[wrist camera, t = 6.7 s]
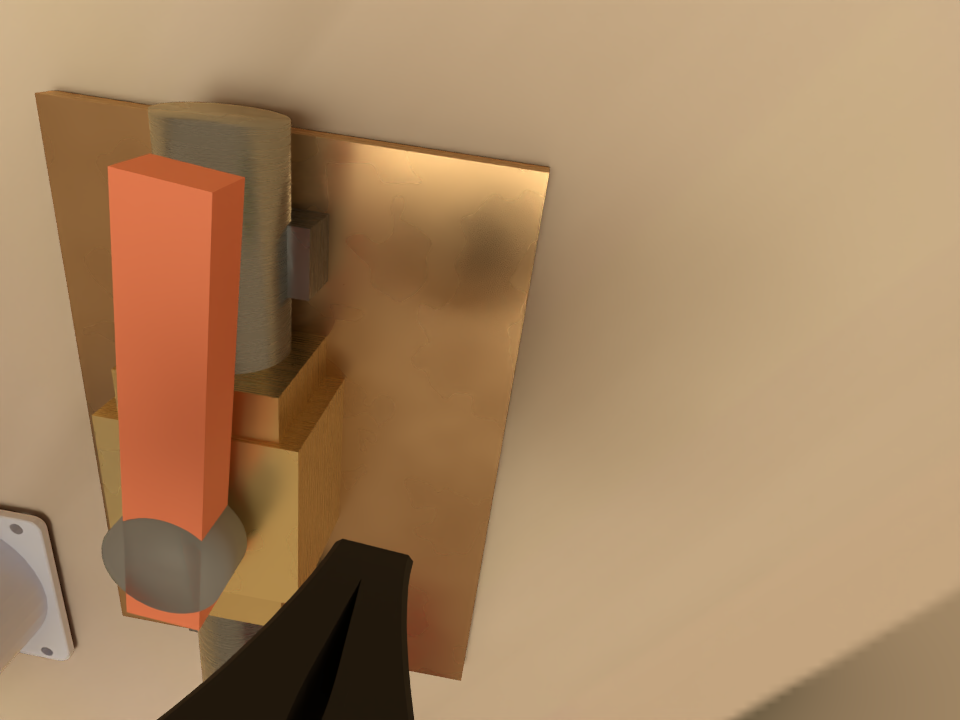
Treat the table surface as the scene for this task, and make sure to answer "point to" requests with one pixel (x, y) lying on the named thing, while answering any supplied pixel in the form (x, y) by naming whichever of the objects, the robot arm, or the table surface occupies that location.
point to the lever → (174, 384)
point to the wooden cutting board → (328, 345)
